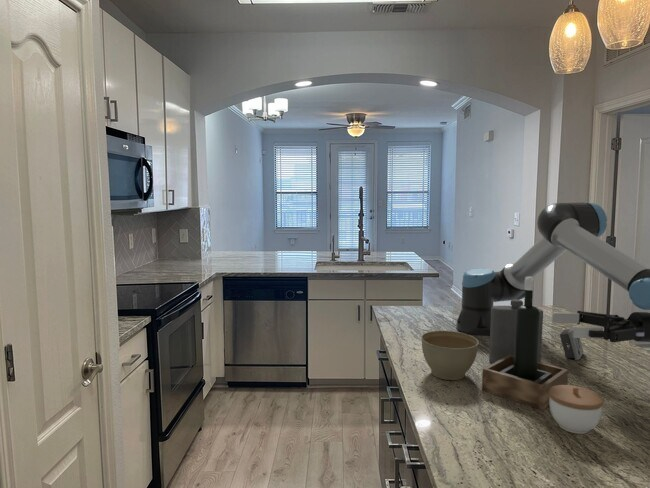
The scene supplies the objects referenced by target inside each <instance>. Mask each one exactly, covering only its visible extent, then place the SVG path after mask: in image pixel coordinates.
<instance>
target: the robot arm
mask: <svg viewBox="0 0 650 488" xmlns="http://www.w3.org/2000/svg"><path fill="white" fill-rule="evenodd" d="M607 221H608V216H607V214H606V212H605V210H604V209H603V207H601V205H599V204H597V203H594V202H588V201H583V202H555V203H551V204H548V205H547V206H546V207H544V208H543V209H542V210H541V211H540V213H539V215H538V217H537V223H536V225H537V229H538V231H539V233H540V235H541V236H542V237H541V238H540V239H538V240H537V241H536V243H535V244H534V245H533V246H532V247H530V248H529V249H528V250H527V251H526V252H525V253H524V254H523V255H521V257H519V259H518V260H517V261H515V263H514V262H513V263H512V262H510V263H508V264H506V265H505V266H504V267H503V268H502V269H501V270H500V271H495V270H493V269H492V268H486V267H485V268H474V269H473V268H472V269H469V270H467V271H465V272H463V275H462V281H461V285H462V286H461V287H462V289H461V290H462V291H461V310H460V313H459V315H458V318H457V320H456V330H458V331H459V332H461V333H464V334H468V335H476V336H479V335H480V336H487V335H490V327H491V307H493V306H494V303H497V302H508V301H510V302H511V300H513V299H517V300H523V299H525V277H534V279H535V278H536V277H537V276H539V274H541V273H542V272H543V271H544V270H545V269H546V268H548V267H549V266H550V265H552V263H554V262H555V261H556V260H557V259H558V258H559V257H561V256H562V255H563V254H564V253H565V252H567V251H568V252H569V253H571V254H572V255H574V256H575V257H576V258H578V259H579V260H581V261H582V262H584V263H585V264H587V265H588V266H590V267H591V268H593V269H594V270H596V271H597V272H599V274H602V275H603V276H605V277H606V278H607V279H609V280H610V281H612V282H613V283H615V284H616V285H618V286H620V287H621V288H622V289H624V290H625V291H627V292H628V297H629V299H630V300H631V302H632V304H633V306H635V307H637V308H639V309H641V310H647V312H646V311H642V312H641V311H634V312H633V311H632V313H630V315H629V316H628V317H627V318H625V317H623V316H619V315H618V314H606V313H600V312H599V313H598V312H589V311H581V310H577V312H553V314H552V322H553V323H557V324H559V323H560V324H576V325H573V326H572V327H573V337H574V338H580V339H595V340H596V339H599V340H606V341H609V342H610V343H621V342H625V341H635V342H638V343H650V312H648V310H650V268H648V267H647V266H645V265H644V264H642V263H640V262H639V261H637V260H636V259H634V258H632V256H629V255H627V254H626V253H624V252H622V251H621V250H619V249H618V248H616V247H614V246H612V245H611V244H609V243H608V242H606V241H605V240H603V239H601V238H600V237H601V236H603V234H604V233H605V232H606V230H607V226H608V224H607ZM581 323H582V324H586V325H593V326H579V325H580V324H581ZM577 325H578V326H577Z"/></svg>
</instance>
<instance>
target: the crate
mask: <svg viewBox="0 0 650 488" xmlns="http://www.w3.org/2000/svg"><path fill="white" fill-rule="evenodd" d="M481 380H482V383H481V390H482V391H484V392H486V393H490V394H493V395H495V396H499V397H501V398H504V399H507V400H510V401H513V402H516V403H520V404H523V405H525V406H528V407H532V408H534V409H538V410H541V411H544V410H545V409H546V408H548V407H550V405H549V389H550V388H551V387H553V386H557V385H568V380H569V369H568V368H563V367H561V366H556V365H552V364H547V363H543V362H542V361H541V362H538V367H537V380H535V381H531V380H528V379H524V378H521V377H517V376H514V355H508V356H506V357H504V358H502V359H500V360H498V361H496V362H495V363H491V364H488V365H487V366H485V367H484V368H482V377H481Z"/></svg>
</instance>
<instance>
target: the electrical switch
mask: <svg viewBox="0 0 650 488" xmlns="http://www.w3.org/2000/svg"><path fill="white" fill-rule="evenodd" d="M559 337H560V340H561V344H562V345H561V346H562V348H563V352H564V353H563V354H564V357H565V358H566V359H574V361H580V359H581V357H582V356H583V355H584V348H583V344H582V340H581V338H574V337H573V326H572V328H567V329H566V328H565V329H564V330H562V332H561V333H559Z"/></svg>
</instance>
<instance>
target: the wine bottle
mask: <svg viewBox="0 0 650 488" xmlns="http://www.w3.org/2000/svg"><path fill="white" fill-rule="evenodd" d="M534 284H535V278H534V277H525V298H524V302H523V305H522V306H520V307H518V308H517V310H516V329H515V353H514V376H517V377H521V378H524V379H528V380H531V381H535V380H537V367H538V345H539V324H540V312H539V310H538V309H539V308H538V309H537V307H536V306H534V305H533V301H534V300H533V298H534Z"/></svg>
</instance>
